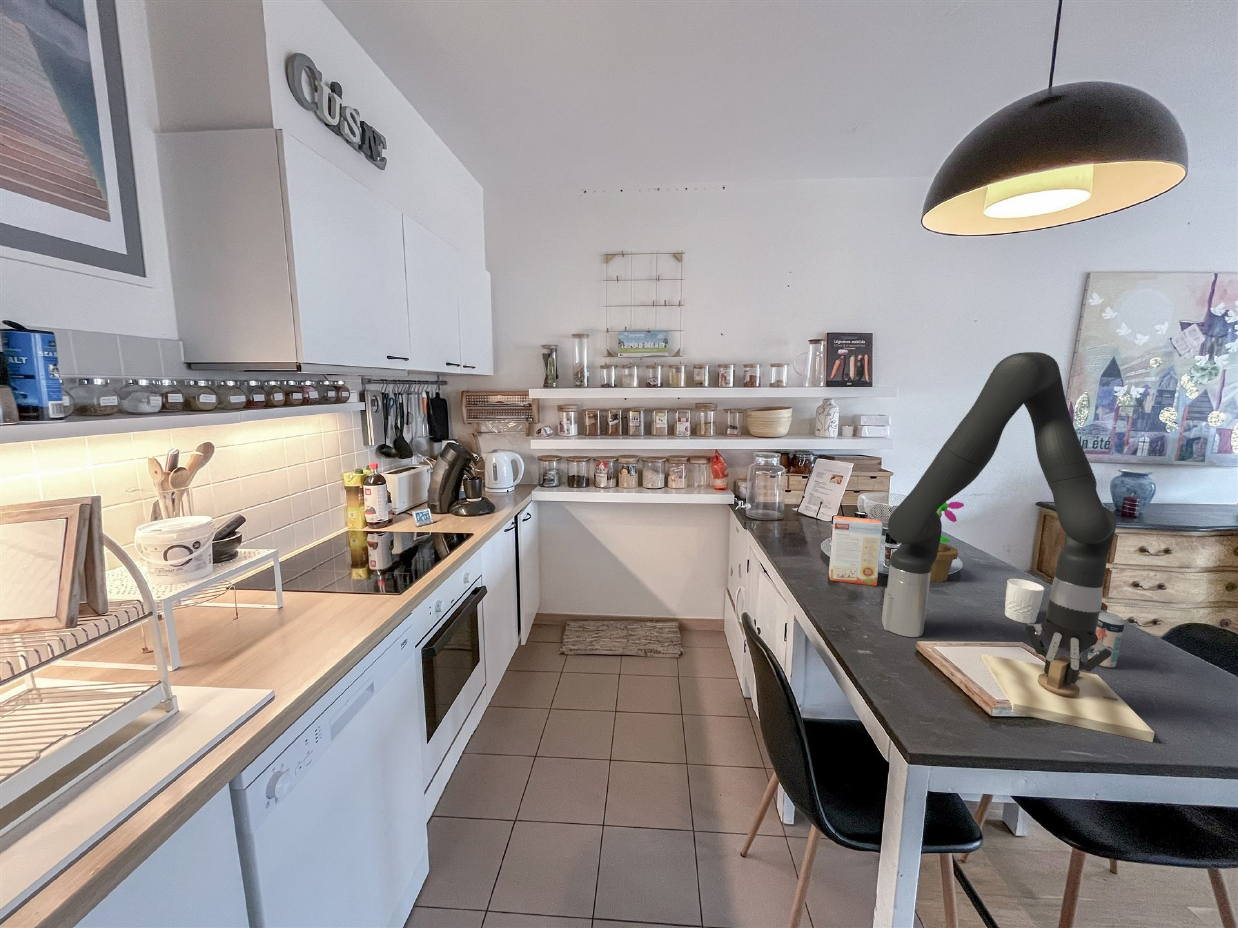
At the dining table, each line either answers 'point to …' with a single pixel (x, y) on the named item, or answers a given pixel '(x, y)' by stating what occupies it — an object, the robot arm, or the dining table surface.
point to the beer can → (1109, 636)
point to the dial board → (1066, 700)
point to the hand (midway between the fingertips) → (1059, 679)
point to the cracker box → (855, 550)
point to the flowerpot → (945, 547)
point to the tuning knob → (1059, 678)
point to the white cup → (1023, 600)
